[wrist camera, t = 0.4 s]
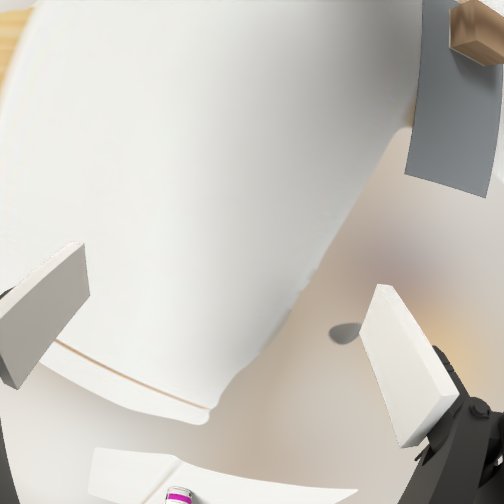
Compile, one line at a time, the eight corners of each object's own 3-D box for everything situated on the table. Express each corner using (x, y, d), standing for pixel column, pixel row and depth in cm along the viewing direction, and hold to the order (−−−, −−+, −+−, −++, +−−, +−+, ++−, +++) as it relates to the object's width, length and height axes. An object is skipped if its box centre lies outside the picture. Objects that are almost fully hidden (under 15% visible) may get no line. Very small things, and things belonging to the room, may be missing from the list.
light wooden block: (448, 9, 26) (474, -2, 20) (483, 29, 26) (510, 22, 20) (448, 47, 29) (476, 40, 22) (483, 66, 29) (512, 62, 22)
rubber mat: (422, -15, 25) (423, -15, 25) (500, 29, 26) (501, 29, 25) (404, 173, 37) (405, 174, 37) (484, 197, 37) (485, 198, 37)
